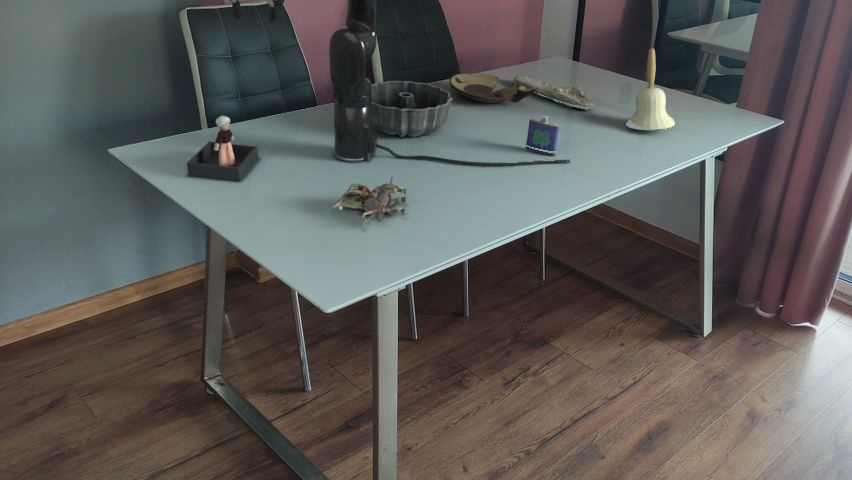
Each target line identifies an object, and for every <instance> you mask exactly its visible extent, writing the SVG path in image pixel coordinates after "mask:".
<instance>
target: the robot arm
mask: <svg viewBox="0 0 852 480" xmlns="http://www.w3.org/2000/svg"><path fill="white" fill-rule="evenodd" d="M377 1H378V0H347V8H346V17H345V23H344V26H342V27H340V28H338V29H336V30H334V32H333V33H332V35H331V36H330V40H329V45H328V59H329V74H330V80H331V82H332V86H333V121H334V122H333V124H334V125H333V135H334V136H333V139H334V141H333V143H334V147H333V149H334V150H333V156H334V157H335V158H336V159H338V160H340V161H344V162H352V163H358V162H368V161H369V160H370V158H371V157H372V154H376V151H377V149H380V150H384V151H386V152H388V153H390V154H391V156H393V157H395V158H397V159H401V160H402V159H403V160H430V161H437V162H443V163H444V162H445V163H448V164H449V163H450V164H458V165H468V166H480V167H481V166H483V167H507V166H510V167H511V166H526V165H543V164H568V162H569V164H570V163H571V160H570V159H553V160H554V161H543V160H532V161H533V162H527V161H517V162H518V163H506V162H487V161H486V162H483V161H482V162H481V161H469V160H468V161H467V160H457V159H449V158H444V157H439V156H438V157H437V156H430V155H402V154H399V153H396V152H395V151H393V149H391V148H390V147H386V146H385V145H381V144H378V140H379V139H378V136H373V127H372V119H371V84H372V81H371V80H370V79H369V78H367V76H366V61H367V60H369V59H370V58H372V56H373V55H374V53H375V51H376V48H377ZM229 2H231V5H232V7H231V8H232V15H233V17H235V19H236V20H239V19H241V18H242V7H241V1H240V0H229ZM265 2H266V3H267V4H268V5H269V7H268V14H269V16H268V17H269V23H270V24H271V23H273V24H274V23H275V22H276V21H277V19H278V6H282V5H284V3H285V0H265ZM569 160H570V161H569ZM567 161H568V162H567ZM564 162H565V163H564Z"/></svg>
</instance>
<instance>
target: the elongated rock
mask: <svg viewBox="0 0 852 480" xmlns="http://www.w3.org/2000/svg"><path fill="white" fill-rule="evenodd" d="M515 84H516V86H517V87H518V88H519V87H520V86H524V87H525V88H527V89H532V88H537V89H538V90H537V91H536V93H533V94H534V95H536V96H538V97H539V98H543V99H547V100H549V101H553V102H554V103H556V104H559V105H563V106H565V107H567V108H569V109H572V108H571V107H572V106H569V105H566V104H563V103H560V102H556V101H554V100H552V99H549V98H547V97H550V98H553V99H556V100H558V101H562V102H566V103H570V104H573V105H579V106H583V107H591V106H593V105H595V106H596V103H595V101H594V99H593V98H592V96H591V95H589V94H588V93H586V92H584V91H583V90H582V89H581V87H580V86H556V85H554V84H551V83H549V82H545V81H542V80H539V79H536V78H533V77H531V76H529V75H528V76H527V75H516V76H514V77H513V79H512V85H515ZM537 93H540V94H542V95H544V96H547V97H543V96H541V95H539V94H537Z"/></svg>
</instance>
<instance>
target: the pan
mask: <svg viewBox="0 0 852 480" xmlns="http://www.w3.org/2000/svg"><path fill="white" fill-rule="evenodd" d="M231 145H232V150H233V154H234V158H235V165H234V166H232V167H229V166H220V164H219V149H220V145H219V147H218V151H215V150H214V147H215V141H208V142H206V143H205V145H203V146H202V148H200V149H199V150H198V151H197V152H195V154H194V155H193V156H192V157H191V158H190V159H189V160H188V161H187V162H186V170H187V176H188V177H190V178H191V177H192V178H201V179H202V178H203V179H210V180H218V181H219V180H220V181H227V182H228V181H230V182H239V183H240V182H241V181H242V180H243V179H244V178H245V176H246V175H247V174H248V173H249V172H250V171H251V169H252V168H253V167H254V166H255V164H256V163H257V162H258V161H259V159H260V157H259V147H258V146H257V145H256V146H254V145H248V144H247V145H246V144H236V143H231Z"/></svg>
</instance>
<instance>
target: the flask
mask: <svg viewBox="0 0 852 480" xmlns="http://www.w3.org/2000/svg"><path fill="white" fill-rule="evenodd" d="M549 119H550V117H549V115H543V116H542V118H538V117H535V118H534V117H533V118H529V121H528V129H527V136H526V143H525V151H527V152H531V153H534V154H540V155H543V156H548V157H557V155H558V150H559V149H558V148H559V141H560V135H561V129H562V126H561V123H560V124H559V123H555V122H550V121H548V120H549ZM526 145H528V146H530V147H534V148H538V149H543V150H548V151H557V153H548V152H543V151H539V150H535V149H532V148H529V147H527V146H526Z"/></svg>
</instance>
